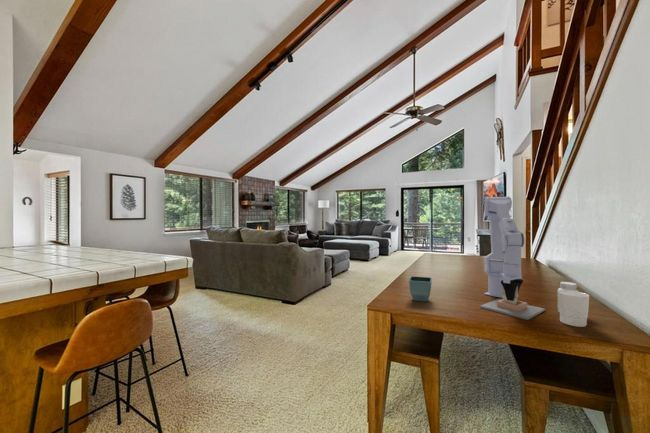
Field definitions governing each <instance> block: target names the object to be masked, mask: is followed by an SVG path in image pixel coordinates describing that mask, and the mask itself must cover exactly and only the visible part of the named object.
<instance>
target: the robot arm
mask: <svg viewBox="0 0 650 433" xmlns="http://www.w3.org/2000/svg"><path fill="white" fill-rule="evenodd" d="M483 202H484V203H483V205H484V207H483V209H484V211H483V212H484V216H486V217H487V218H488V219H489V228H490V230H489V231H490V232H489V233H490V234H489V235H490V250H491V251H490V253H489V254H487V255H486V256H485V257H484V263H483V266H484V272H485V273H486V274H487V275H488V278H487V279H488V280H487V283H488V284H487V286H488V287H487V288H488V289H487V290H488V291H487V292H484V293H483V294H484V295H487V296H491V297H497V298H499V299H503V288H504V290H505V294H506V298H507V300H510V301H514V298H515V292H516V289H517V286H518V294H519V292H520V289H521V286H522V284H523V283H524V279H523V275H522V248H523V247H524V245H525V236H524V232H522V231H521V230H519V229H518V226H517V223H516V221H515V220H514V219H513V218H512V217H511V214H510V211H511V209H512V206H513V201H512V198H511V197H510V196H486V197H485V198H484V201H483Z"/></svg>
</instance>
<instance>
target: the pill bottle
mask: <svg viewBox="0 0 650 433" xmlns="http://www.w3.org/2000/svg"><path fill="white" fill-rule="evenodd" d="M559 285H560V287H559V288H557V292H558V291H560V290H569V291H577V292H580V291H579V290H578V289H577V288H578V285H577V283H575V282H571V281H560V284H559ZM556 298H557V301H556V302H557V304H556V305H557V306H556V307H557V312H558V313H560V312H559V298H558V297H556Z"/></svg>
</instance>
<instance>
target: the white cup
mask: <svg viewBox="0 0 650 433" xmlns="http://www.w3.org/2000/svg"><path fill="white" fill-rule="evenodd" d="M557 298H559V312H558V313H559V321H560V322H561V323H563V324H564V325H567V326H568V325H569V326H571V327H577V328H578V327H579V328H581V327H583V328H585V327H587V326H588V325H587V324H588V317H589V316H588V315H589V307H590V306H589V304H590V294H588V293H585V292H580V291H579V292H577V291H569V290H560V291H558V290H557Z"/></svg>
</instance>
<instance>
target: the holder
mask: <svg viewBox="0 0 650 433" xmlns="http://www.w3.org/2000/svg"><path fill="white" fill-rule="evenodd" d="M480 309H484V310H488V311H490V312H491V311H492V312H496V313H498V314H499V313H500V314H503V315H507V316H511V317H515V318H518V319H522V320H527V321H529V320H531V319H533V318H534V317H536V316H538V315H540V314H542V313H543V312H545V310H546V309H545V308H543V307H539V306H535V305H530V304H528V302H526V301H521V300H518V305H514V304H510V303H506V302H503V298H497V299H495V300H492V301H489V302H487V303H483V304H481V305H480Z"/></svg>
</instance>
